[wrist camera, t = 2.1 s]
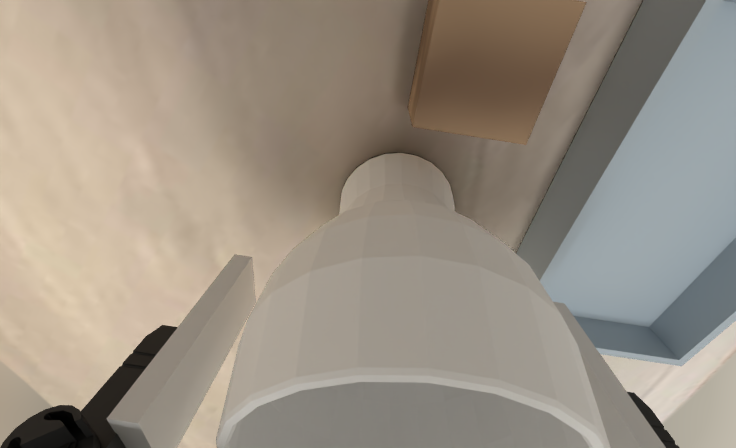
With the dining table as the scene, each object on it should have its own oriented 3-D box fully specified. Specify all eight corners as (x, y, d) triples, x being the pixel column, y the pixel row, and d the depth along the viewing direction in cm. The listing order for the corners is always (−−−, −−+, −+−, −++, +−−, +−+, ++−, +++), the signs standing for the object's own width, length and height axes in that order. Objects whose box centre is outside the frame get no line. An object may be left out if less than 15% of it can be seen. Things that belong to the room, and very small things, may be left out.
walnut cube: (428, -1, 14) (443, -21, 10) (528, 16, 14) (586, 2, 10) (407, 106, 17) (412, 126, 13) (492, 120, 17) (526, 144, 13)
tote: (656, -25, 13) (733, -46, 10) (939, 21, 13) (1098, 13, 10) (490, 303, 24) (504, 339, 21) (645, 327, 24) (681, 366, 21)
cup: (406, 88, 16) (463, 239, 3) (505, 213, 20) (713, 516, 7) (289, 200, 20) (117, 455, 8) (388, 287, 24) (384, 559, 11)
